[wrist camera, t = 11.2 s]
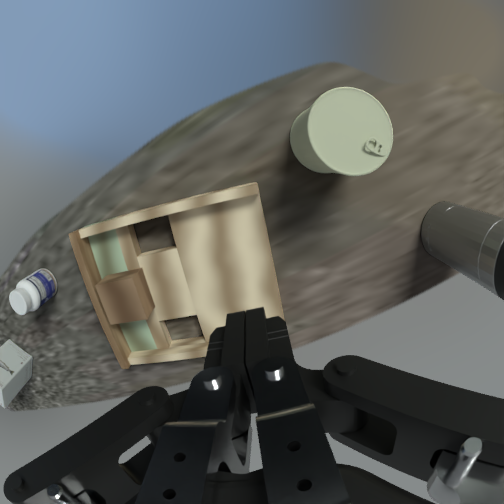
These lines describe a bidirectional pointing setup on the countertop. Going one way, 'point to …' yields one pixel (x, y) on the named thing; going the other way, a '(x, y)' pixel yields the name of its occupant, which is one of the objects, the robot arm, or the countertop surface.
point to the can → (343, 133)
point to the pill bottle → (33, 291)
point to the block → (126, 296)
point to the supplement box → (13, 371)
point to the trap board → (184, 270)
